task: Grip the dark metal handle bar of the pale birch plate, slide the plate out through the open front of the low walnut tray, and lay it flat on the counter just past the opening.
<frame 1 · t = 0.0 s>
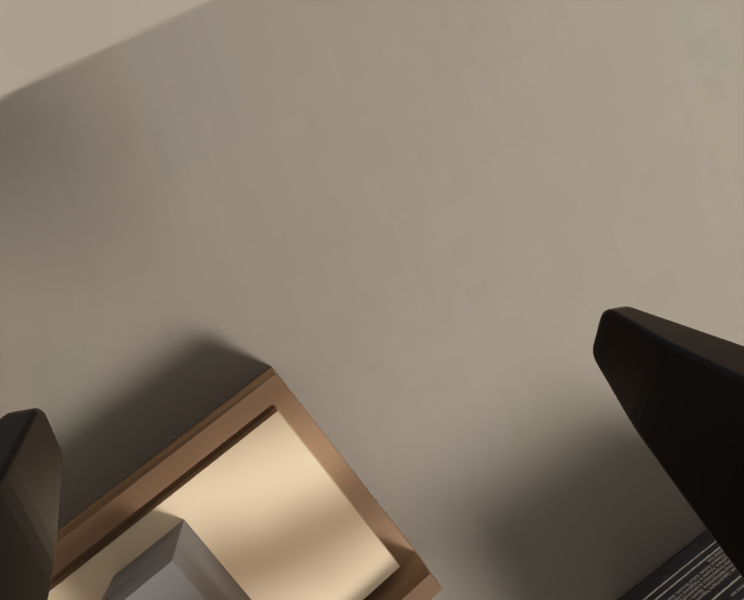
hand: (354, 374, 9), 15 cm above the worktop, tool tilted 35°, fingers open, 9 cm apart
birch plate: (203, 594, 21), point 1 cm above the worktop, touching walnut tray
small box: (711, 592, 28), on the worktop
walnut tray: (196, 589, 22), on the worktop
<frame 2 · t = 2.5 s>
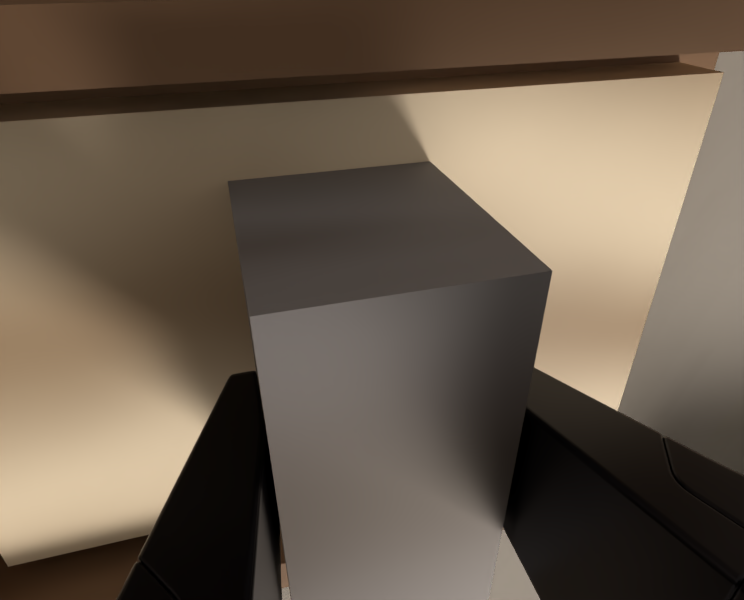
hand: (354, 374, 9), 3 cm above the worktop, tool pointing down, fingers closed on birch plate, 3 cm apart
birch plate: (328, 307, 11), point 1 cm above the worktop, touching gripper, walnut tray
walnut tray: (299, 284, 11), on the worktop
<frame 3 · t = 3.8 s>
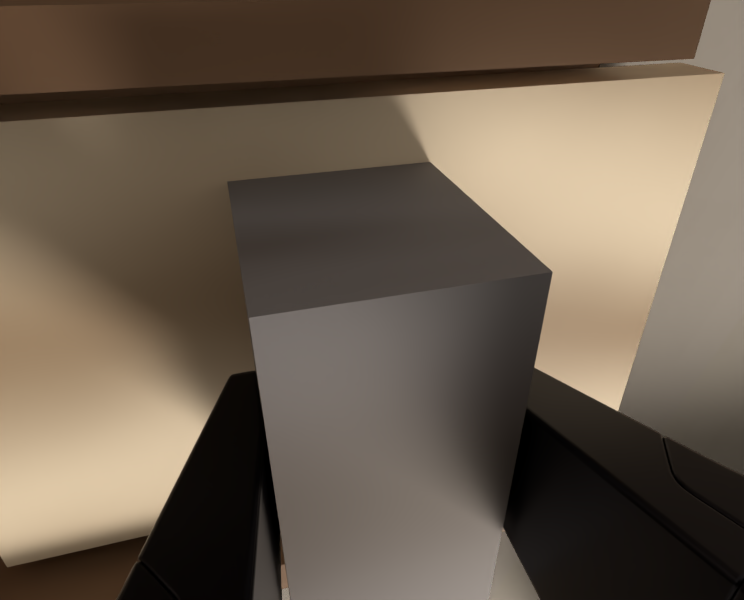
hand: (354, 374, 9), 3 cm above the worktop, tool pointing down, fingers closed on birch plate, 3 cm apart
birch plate: (328, 307, 11), point 1 cm above the worktop, touching gripper
walnut tray: (172, 302, 11), on the worktop
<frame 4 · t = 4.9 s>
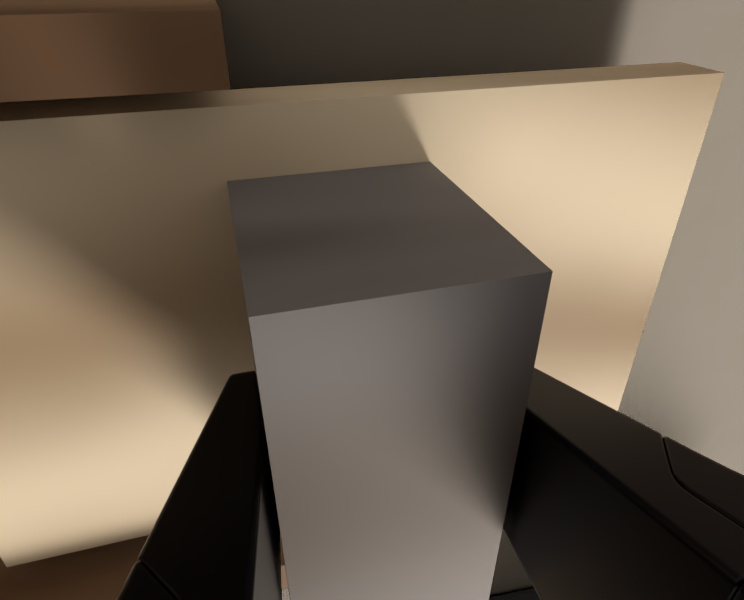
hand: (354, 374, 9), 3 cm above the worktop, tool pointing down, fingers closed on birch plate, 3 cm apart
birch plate: (328, 307, 11), point 1 cm above the worktop, touching gripper
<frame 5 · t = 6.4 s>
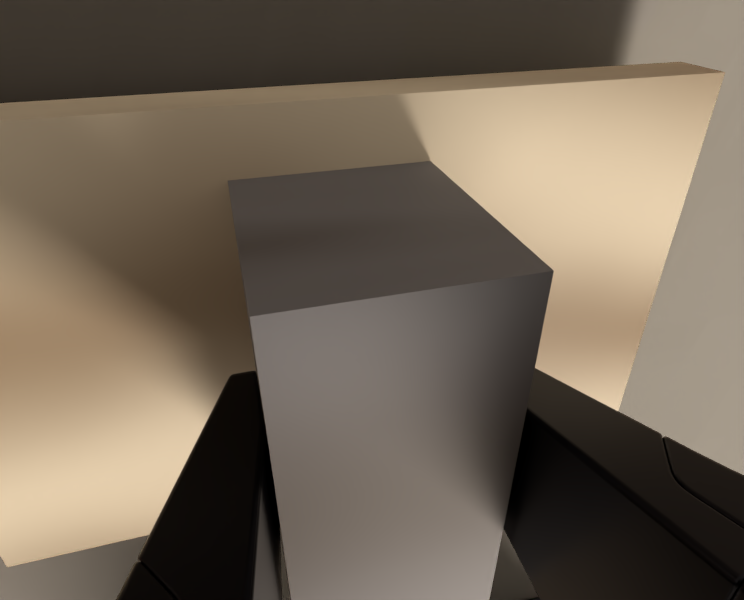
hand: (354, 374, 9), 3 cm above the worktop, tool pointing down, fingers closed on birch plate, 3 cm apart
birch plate: (328, 307, 11), point 1 cm above the worktop, touching gripper
when the fingers open (2 cm above the worktop, at t = 7.5 s): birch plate stays where it is, on the worktop.
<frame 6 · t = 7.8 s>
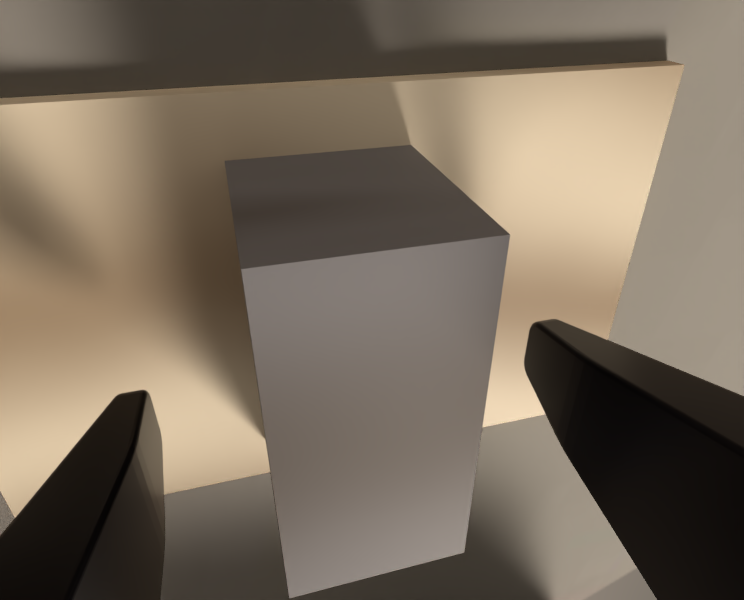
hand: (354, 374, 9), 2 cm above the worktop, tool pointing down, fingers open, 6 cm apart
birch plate: (319, 284, 11), on the worktop
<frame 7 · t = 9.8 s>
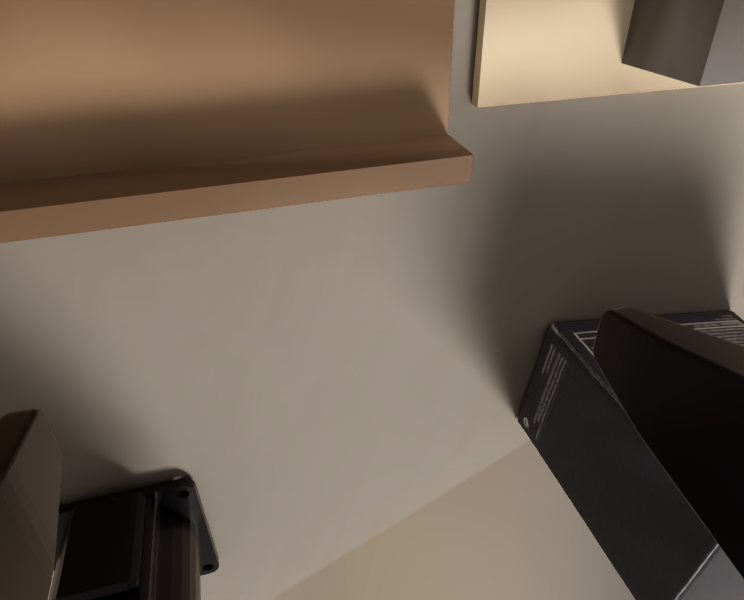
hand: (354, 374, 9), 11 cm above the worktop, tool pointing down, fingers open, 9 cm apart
small box: (618, 364, 28), on the worktop
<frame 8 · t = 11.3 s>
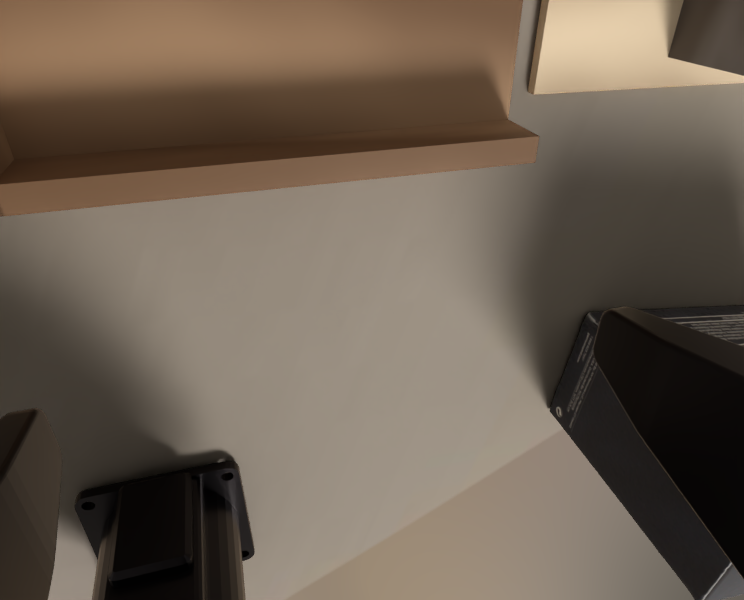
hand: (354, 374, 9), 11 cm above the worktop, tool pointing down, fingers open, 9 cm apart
small box: (646, 356, 29), on the worktop
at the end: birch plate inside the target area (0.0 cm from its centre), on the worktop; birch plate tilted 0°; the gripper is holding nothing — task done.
